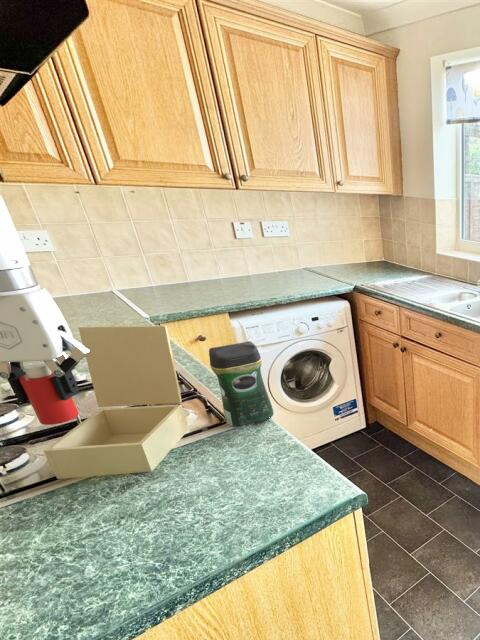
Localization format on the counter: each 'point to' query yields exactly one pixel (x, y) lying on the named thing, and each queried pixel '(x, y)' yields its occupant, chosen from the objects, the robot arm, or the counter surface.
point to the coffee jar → (241, 383)
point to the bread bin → (118, 441)
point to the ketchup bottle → (46, 396)
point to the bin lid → (131, 365)
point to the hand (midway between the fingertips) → (49, 396)
